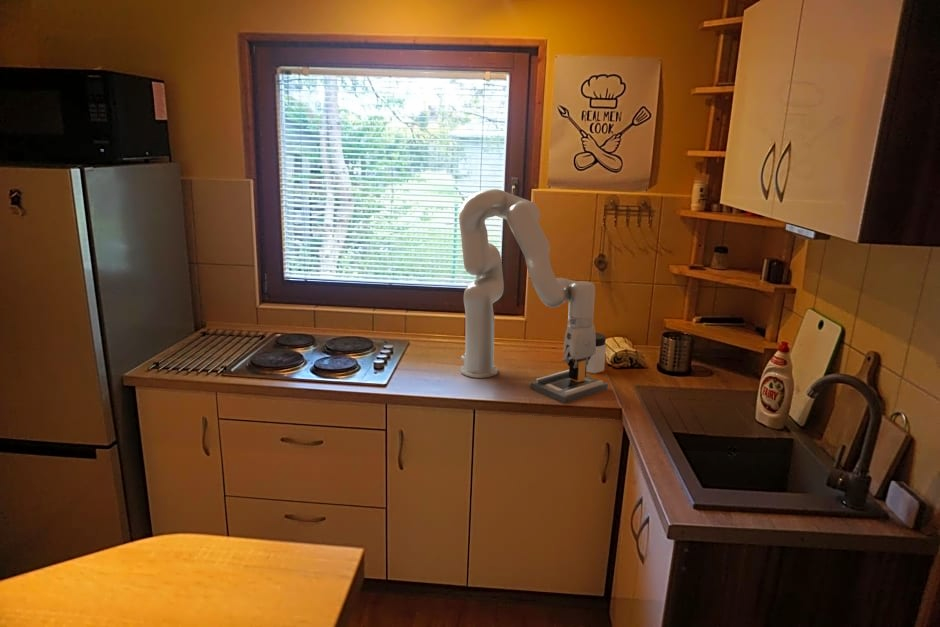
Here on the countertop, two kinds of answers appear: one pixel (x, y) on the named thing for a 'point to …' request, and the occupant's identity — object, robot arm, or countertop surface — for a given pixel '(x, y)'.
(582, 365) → the lever
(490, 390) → the countertop surface
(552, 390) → the panel
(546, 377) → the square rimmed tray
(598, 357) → the jar
